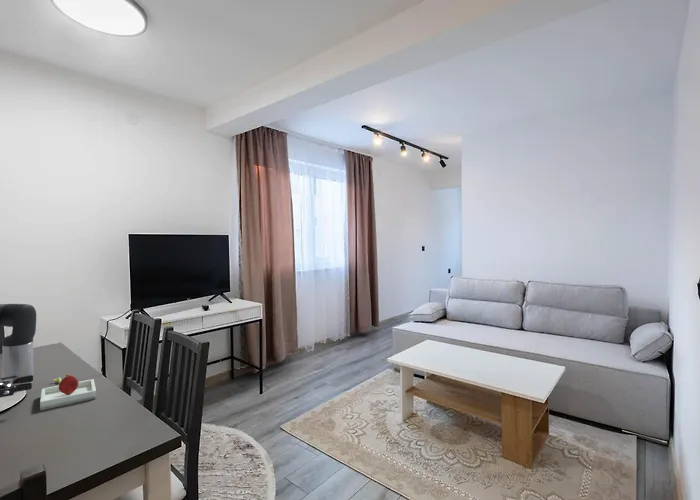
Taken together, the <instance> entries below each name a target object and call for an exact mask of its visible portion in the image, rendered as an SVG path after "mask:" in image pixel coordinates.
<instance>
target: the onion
mask: <svg viewBox="0 0 700 500" xmlns="http://www.w3.org/2000/svg"><path fill="white" fill-rule="evenodd" d="M61 380H62V381H61V382H60V384H59V383H58V385H59V390H60V391H61V392H62V393H64V394H66V395H70V394H71V393H73V392H74V391H75V390H76V389H77V387H78V382H79V381H78V379H77V378H76V377H75V376H73V375H71V374H69V373H68V374H65V377H64V378H63V379H61Z"/></svg>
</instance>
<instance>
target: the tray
mask: <svg viewBox="0 0 700 500" xmlns="http://www.w3.org/2000/svg"><path fill="white" fill-rule="evenodd" d="M96 399H97V389H96V383H95V379H94V378H92V379H87V380H86V379H85V380H82V381H78V387H77V389H76V390H75V391H74V392H73V393H71V394H70V395H66V394H64V393H62V392H61V391H60V390H59V386H56V385H54V386H49V387H43V388H42V389H41V394H40V401H39V402H40V403H39V405H40V406H39V409H40V410H39V411H44V410H49V409H53V408H57V407H62V406H68V405H73V404H77V403H82V402H85V401H90V400H96Z"/></svg>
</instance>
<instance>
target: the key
mask: <svg viewBox="0 0 700 500" xmlns="http://www.w3.org/2000/svg"><path fill="white" fill-rule="evenodd" d="M62 380H63V379H62V378H61V377H60V376H59V377H57V378H53V379H52V382H58V384H57V385H55V386H59V384H60V382H61V381H62Z"/></svg>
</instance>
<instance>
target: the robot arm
mask: <svg viewBox="0 0 700 500" xmlns="http://www.w3.org/2000/svg"><path fill="white" fill-rule="evenodd" d="M0 326H2V327H9V328H12V331H11V334H10V335H7V336H5V337H3V338H2V341H1V345H2V377H0V398H4V397H10V396H14V395H15V394H16V393H19V392H23V391H27V390H28V391H29V390H31V389H32V387H33V385H32V384H34V337H35V335H36V331H37V311H36V309H35V307H34V306H33V305H31V304H29V303H28V304H27V303H4V304H3V303H0Z"/></svg>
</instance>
